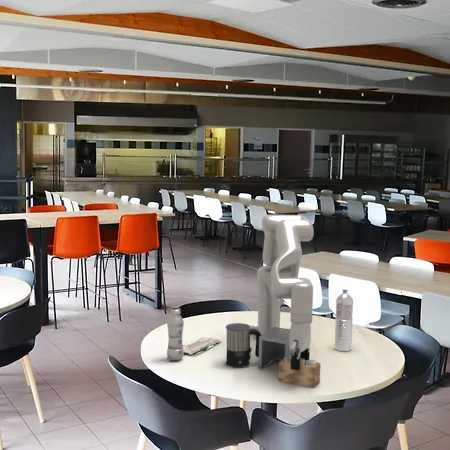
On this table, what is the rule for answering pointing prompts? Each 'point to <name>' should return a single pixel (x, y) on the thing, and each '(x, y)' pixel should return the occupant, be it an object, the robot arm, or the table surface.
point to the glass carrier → (300, 372)
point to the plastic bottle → (175, 335)
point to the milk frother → (240, 344)
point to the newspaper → (199, 345)
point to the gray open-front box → (273, 346)
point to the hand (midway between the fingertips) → (300, 365)
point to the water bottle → (343, 322)
